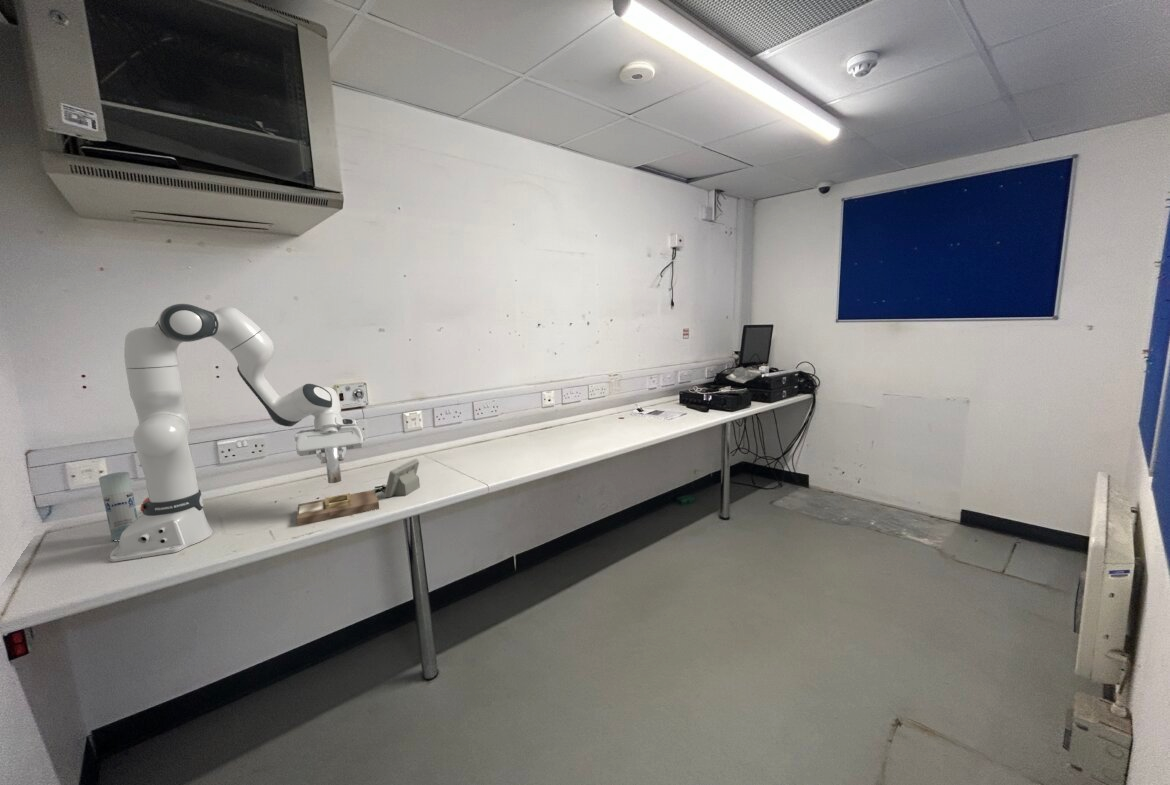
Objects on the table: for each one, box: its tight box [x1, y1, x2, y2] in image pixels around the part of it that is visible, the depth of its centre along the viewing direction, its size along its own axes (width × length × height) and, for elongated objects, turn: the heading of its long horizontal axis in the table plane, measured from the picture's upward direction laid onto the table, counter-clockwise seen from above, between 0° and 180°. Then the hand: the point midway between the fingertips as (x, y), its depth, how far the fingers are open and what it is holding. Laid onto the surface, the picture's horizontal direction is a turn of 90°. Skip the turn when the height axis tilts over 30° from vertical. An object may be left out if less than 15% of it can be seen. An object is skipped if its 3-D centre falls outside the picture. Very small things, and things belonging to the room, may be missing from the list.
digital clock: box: [384, 458, 420, 498], centre depth 172 cm, size 16×9×11 cm, turn 154°
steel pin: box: [324, 446, 342, 484], centre depth 154 cm, size 4×4×12 cm
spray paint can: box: [98, 471, 139, 541], centre depth 139 cm, size 6×6×20 cm
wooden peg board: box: [296, 489, 380, 527], centre depth 156 cm, size 24×14×4 cm, turn 120°
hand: (332, 461), depth 153 cm, fingers closed on steel pin, 4 cm apart
